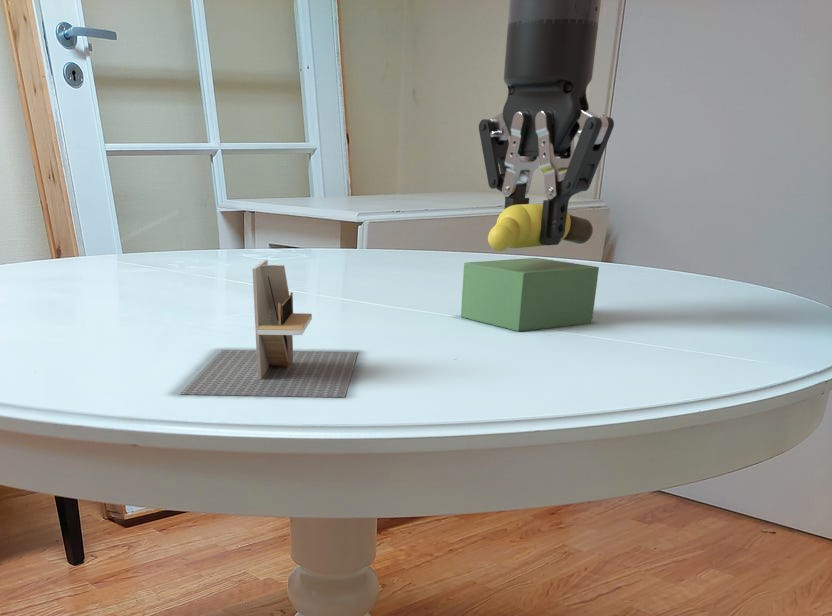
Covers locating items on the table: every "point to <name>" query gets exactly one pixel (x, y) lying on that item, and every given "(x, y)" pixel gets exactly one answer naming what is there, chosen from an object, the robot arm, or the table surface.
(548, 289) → the block
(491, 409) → the table surface
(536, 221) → the knobbed yellow capsule
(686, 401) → the table surface
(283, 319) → the architectural model
